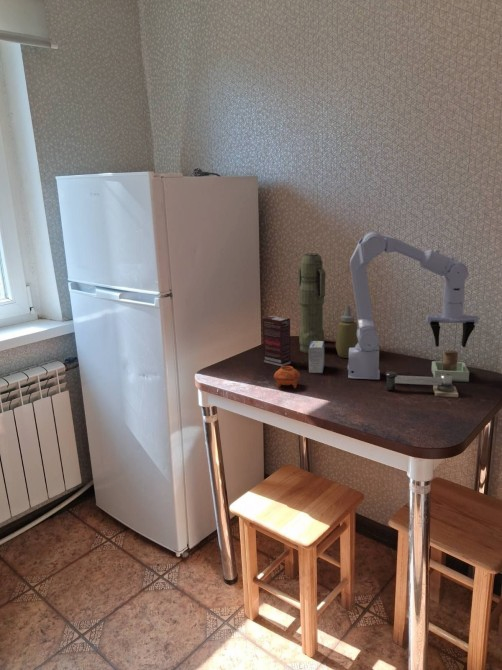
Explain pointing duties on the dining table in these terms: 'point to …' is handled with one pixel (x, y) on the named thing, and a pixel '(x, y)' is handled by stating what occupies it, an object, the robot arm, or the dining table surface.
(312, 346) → the medicine box
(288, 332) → the supplement box
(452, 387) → the crank mount
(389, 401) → the dining table surface
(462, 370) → the tray
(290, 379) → the pot
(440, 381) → the crank lever
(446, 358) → the plug
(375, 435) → the dining table surface
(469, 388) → the dining table surface
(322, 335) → the thermos
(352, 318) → the squeeze bottle
